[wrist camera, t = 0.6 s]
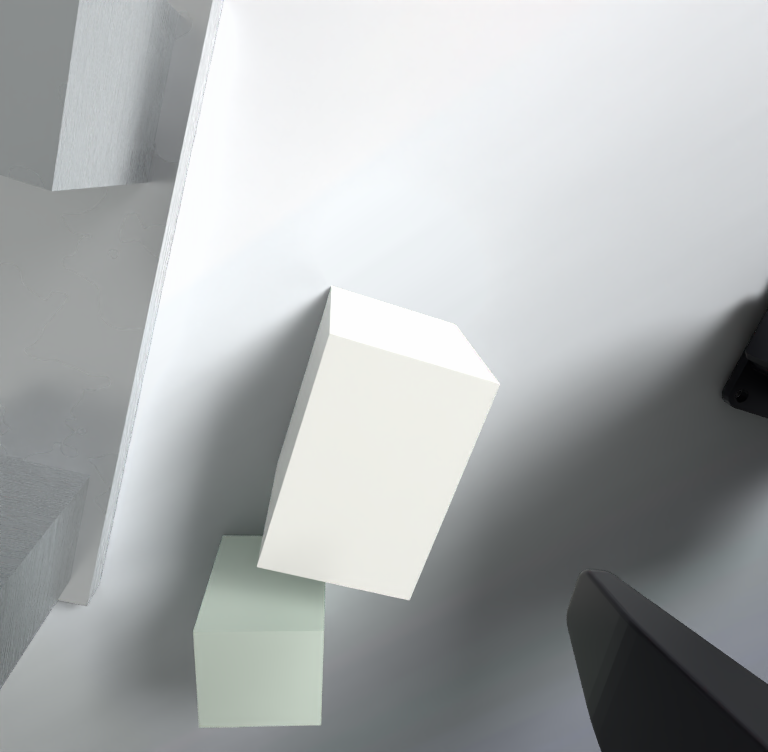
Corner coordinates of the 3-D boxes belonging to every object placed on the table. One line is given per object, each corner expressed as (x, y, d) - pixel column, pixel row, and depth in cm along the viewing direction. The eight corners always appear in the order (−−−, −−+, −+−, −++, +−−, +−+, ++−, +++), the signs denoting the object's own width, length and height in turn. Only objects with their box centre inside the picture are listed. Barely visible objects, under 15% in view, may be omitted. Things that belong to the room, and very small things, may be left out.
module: (455, 323, 20) (500, 384, 15) (389, 494, 23) (407, 604, 17) (331, 285, 20) (329, 333, 14) (276, 466, 22) (255, 571, 16)
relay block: (326, 535, 23) (323, 630, 18) (324, 616, 24) (320, 725, 20) (222, 534, 22) (192, 631, 18) (226, 617, 24) (199, 727, 19)
